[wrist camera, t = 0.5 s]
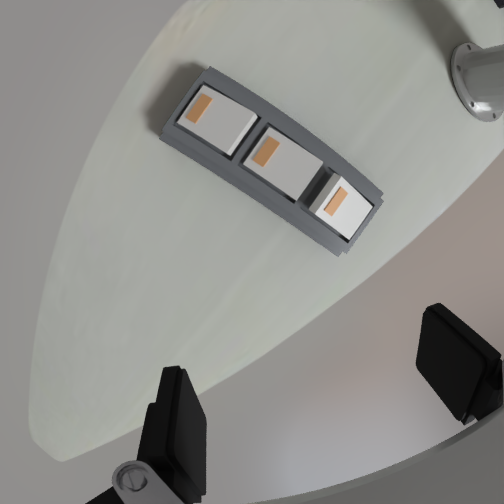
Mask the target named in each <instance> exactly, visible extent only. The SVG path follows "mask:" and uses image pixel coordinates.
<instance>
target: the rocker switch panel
mask: <svg viewBox="0 0 504 504" xmlns="http://www.w3.org/2000/svg"><path fill="white" fill-rule="evenodd" d="M203 85H204V86H206V87H208V88H210V89H212V90H214V91H216V92H218V93H220V94H222V95H224V96H226V97H227V98H229V99H231V100H233V101H235V102H237V103H238V104H240V105H242V106H244V107H246V108H247V109H249V110H251V111H253V112H254V113H255V114H256V115H257V119H256V120H255V121H254V123H253V124H252V126H251V127H250V128H249V130H248V131H247V133H246V134H245V135H244V137H243V138H242V140H241V141H240V143H239V144H238V145H237V147H236V148H235V150H234V151H233V153H232V154H231V155H228V154H227V153H225V152H224V151H222V150H220V149H219V148H217V147H216V146H214V145H213V144H211V143H209V142H208V141H206V140H205V139H203V138H201V137H200V136H198V135H197V134H195V133H193V132H192V131H190V130H188V129H187V128H185V127H183V126H182V125H180V124H179V123H177V122H178V120H179V119H180V117H181V116H182V114H183V113H184V111H185V110H186V109H187V107H188V106H189V104H190V103H191V101H192V100H193V99H194V97H195V96H196V95H197V93H198V92H199V90H200V89H201V88H202V86H203ZM269 127H271V128H272V129H274V130H275V131H277V132H279V133H280V134H282V135H283V136H285V137H287V138H288V139H290V140H291V141H293V142H294V143H296V144H297V145H299V146H300V147H302V148H304V149H305V150H307V151H308V152H310V153H311V154H312V155H314V156H315V157H317V158H318V159H320V160H321V161H323V164H322V165H321V167H320V168H319V170H318V171H317V173H316V174H315V175H314V177H313V178H312V180H311V181H310V182H309V184H308V185H307V187H306V188H305V190H304V191H303V192H302V194H301V195H300V197H299V198H298V199H297V201H296V200H295V199H293V198H292V197H290V196H289V195H287V194H286V193H285V192H283V191H282V190H280V189H279V188H277V187H276V186H275V185H273V184H272V183H270V182H269V181H267V180H266V179H264V178H263V177H261V176H260V175H258V174H257V173H255V172H254V171H252V170H251V169H249V168H248V167H246V166H245V165H243V163H244V162H245V161H246V159H247V158H248V156H249V155H250V153H251V152H252V151H253V149H254V148H255V146H256V145H257V143H258V142H259V141H260V139H261V138H262V136H263V135H264V134H265V132H266V131H267V129H268V128H269ZM162 131H163V133H162V135H161V136H160V138H159V139H160V140H162V141H164V142H165V143H167V144H169V145H170V146H172V147H173V148H175V149H177V150H178V151H180V152H182V153H183V154H185V155H186V156H188V157H190V158H191V159H193V160H194V161H196V162H198V163H199V164H201V165H202V166H204V167H206V168H207V169H209V170H210V171H212V172H213V173H215V174H217V175H218V176H220V177H221V178H223V179H224V180H226V181H227V182H229V183H230V184H232V185H234V186H235V187H237V188H238V189H240V190H241V191H243V192H244V193H246V194H247V195H249V196H250V197H252V198H253V199H255V200H256V201H258V202H259V203H261V204H262V205H264V206H265V207H267V208H268V209H270V210H271V211H273V212H274V213H276V214H277V215H279V216H280V217H282V218H283V219H284V220H286V221H287V222H289V223H290V224H292V225H293V226H295V227H296V228H298V229H299V230H300V231H302V232H303V233H305V234H306V235H308V236H309V237H310V238H312V239H313V240H315V241H316V242H318V243H319V244H320V245H322V246H323V247H325V248H326V249H327V250H329V251H330V252H332V253H333V254H334V255H336V256H337V257H339V255H340V254H341V253H342V251H343V252H344V253H346V254H347V252H348V251H349V250H350V248H351V247H352V246H353V244H354V243H355V241H356V240H357V239H358V237H359V236H360V235H361V233H362V232H363V230H364V229H365V228H366V226H367V225H368V223H369V222H370V220H371V219H372V218H373V216H374V215H375V213H376V212H377V210H378V209H379V207H380V206H381V205H382V203H383V202H384V201H383V200H382V199H381V196H382V195H383V192H382V191H381V190H379V189H378V188H377V187H376V186H375V185H374V184H373V183H372V182H371V181H369V180H368V179H367V178H366V177H365V176H364V175H363V174H361V173H360V172H359V171H358V170H357V169H356V168H354V167H353V166H352V165H351V164H350V163H348V162H347V161H346V160H345V159H344V158H342V157H341V156H340V155H339V154H338V153H336V152H335V151H334V150H333V149H331V148H330V147H329V146H328V145H326V144H325V143H324V142H322V141H321V140H320V139H319V138H317V137H316V136H315V135H313V134H312V133H311V132H309V131H308V130H307V129H305V128H304V127H303V126H301V125H300V124H299V123H297V122H296V121H294V120H293V119H292V118H290V117H289V116H287V115H286V114H285V113H283V112H282V111H280V110H279V109H277V108H276V107H274V106H273V105H272V104H270V103H269V102H267V101H266V100H264V99H263V98H261V97H260V96H258V95H257V94H255V93H253V92H252V91H250V90H249V89H247V88H246V87H244V86H242V85H241V84H239V83H238V82H236V81H234V80H233V79H231V78H229V77H228V76H226V75H224V74H223V73H221V72H219V71H218V70H216V69H214V68H212V67H211V66H210V67H209V68H208V69H207V71H205V70H204V71H203V72H202V73H201V75H200V76H199V77H198V79H197V80H196V81H195V83H194V84H193V85H192V87H191V88H190V89H189V91H188V92H187V94H186V95H185V96H184V98H183V99H182V101H181V102H180V103H179V105H178V106H177V108H176V109H175V111H174V112H173V114H172V115H171V117H170V118H169V120H168V121H167V123H166V124H165V126H164V127H163V129H162ZM334 173H336V174H338V175H340V176H342V177H343V178H344V179H345V180H346V181H347V182H348V183H349V184H350V185H351V186H352V187H353V188H354V189H355V190H356V191H357V192H358V193H359V194H360V195H361V196H362V197H363V198H364V199H365V200H366V201H367V202H368V203H369V204H370V205H371V206H372V209H371V210H370V212H369V213H368V214H367V216H366V217H365V219H364V220H363V222H362V223H361V224H360V226H359V227H358V229H357V230H356V231H355V233H354V234H353V236H352V237H351V238H350V240H349V239H347V238H346V237H345V236H343V235H342V234H341V233H339V232H338V231H337V230H335V229H334V228H333V227H331V226H330V225H329V224H327V223H326V222H325V221H323V220H322V219H321V218H319V217H318V216H317V215H315V214H314V213H313V212H311V211H310V210H308V209H309V208H310V206H311V205H312V204H313V202H314V201H315V199H316V198H317V196H318V195H319V194H320V192H321V191H322V189H323V188H324V187H325V185H326V184H327V182H328V181H329V179H330V178H331V177H332V175H333V174H334Z"/></svg>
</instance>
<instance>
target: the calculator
mask: <svg viewBox="0 0 504 504" xmlns="http://www.w3.org/2000/svg"><path fill="white" fill-rule="evenodd" d="M494 1H495V3H496V5H497V6H498V7H499V8H503V7H504V0H494Z"/></svg>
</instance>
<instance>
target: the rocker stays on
mask: <svg viewBox="0 0 504 504" xmlns="http://www.w3.org/2000/svg"><path fill="white" fill-rule="evenodd" d="M256 119H257V115H256V114H255V113H254V112H253V111H251V110H249V109H247V108H246V107H244V106H242V105H240V104H238V103H237V102H235V101H233V100H231V99H229V98H227V97H226V96H224V95H222V94H220V93H218V92H216V91H214V90H212V89H210V88H208V87H206V86H204V85H203V86H202V88H201V89H200V90H199V92H198V93H197V95H196V96H195V97H194V99H193V100H192V101H191V103H190V104H189V106H188V107H187V109H186V110H185V111H184V113H183V114H182V116H181V117H180V119H179V120H178V122H177V123H179V124H180V125H182V126H183V127H185V128H187V129H188V130H190V131H192V132H193V133H195V134H197V135H198V136H200V137H201V138H203V139H205V140H206V141H208V142H209V143H211V144H213V145H214V146H216V147H217V148H219V149H220V150H222V151H224V152H225V153H227V154H228V155H231V154H232V153H233V151H234V150H235V148H236V147H237V145H238V144H239V143H240V141H241V140H242V138H243V137H244V135H245V134H246V133H247V131H248V130H249V128H250V127H251V126H252V124H253V123H254V121H255V120H256Z"/></svg>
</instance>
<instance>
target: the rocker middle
mask: <svg viewBox="0 0 504 504" xmlns="http://www.w3.org/2000/svg"><path fill="white" fill-rule="evenodd" d="M322 164H323V161H321V160H320V159H318V158H317V157H315V156H314V155H312V154H311V153H310V152H308V151H307V150H305V149H304V148H302V147H300V146H299V145H297V144H296V143H294V142H293V141H291V140H290V139H288V138H287V137H285V136H283V135H282V134H280V133H279V132H277V131H275V130H274V129H272V128H271V127H269V128H268V129H267V131H266V132H265V134H264V135H263V136H262V138H261V139H260V141H259V142H258V143H257V145H256V146H255V148H254V149H253V151H252V152H251V153H250V155H249V156H248V158H247V159H246V161H245V162H244V163H243V165H245V166H246V167H248V168H249V169H251V170H252V171H254V172H255V173H257V174H258V175H260V176H261V177H263V178H264V179H266V180H267V181H269V182H270V183H272V184H273V185H275V186H276V187H277V188H279V189H280V190H282V191H283V192H285V193H286V194H287V195H289V196H290V197H292V198H293V199H295V200H296V201H297V199H298V198H299V197H300V195H301V194H302V192H303V191H304V190H305V188H306V187H307V185H308V184H309V182H310V181H311V180H312V178H313V177H314V175H315V174H316V173H317V171H318V170H319V168H320V167H321V165H322Z"/></svg>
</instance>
